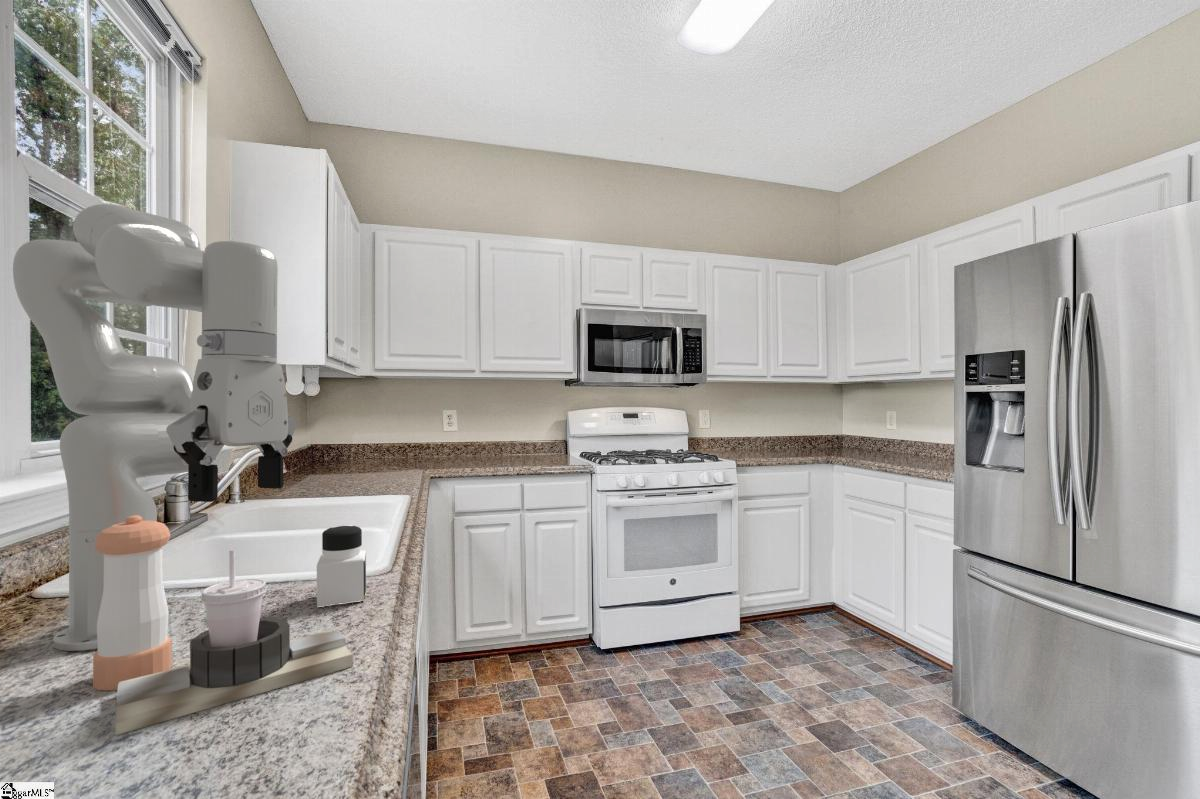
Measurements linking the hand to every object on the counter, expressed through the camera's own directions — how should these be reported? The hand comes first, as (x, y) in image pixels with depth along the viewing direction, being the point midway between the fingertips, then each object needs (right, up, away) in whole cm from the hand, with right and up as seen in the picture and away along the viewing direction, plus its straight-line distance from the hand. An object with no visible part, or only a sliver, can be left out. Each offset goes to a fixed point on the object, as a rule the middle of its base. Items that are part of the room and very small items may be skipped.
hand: (239, 494), depth 66 cm
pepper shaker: (-13, -22, +1) cm, 26 cm away
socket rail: (+1, -22, -1) cm, 22 cm away
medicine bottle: (-1, -23, +28) cm, 36 cm away
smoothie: (0, -21, -1) cm, 21 cm away
